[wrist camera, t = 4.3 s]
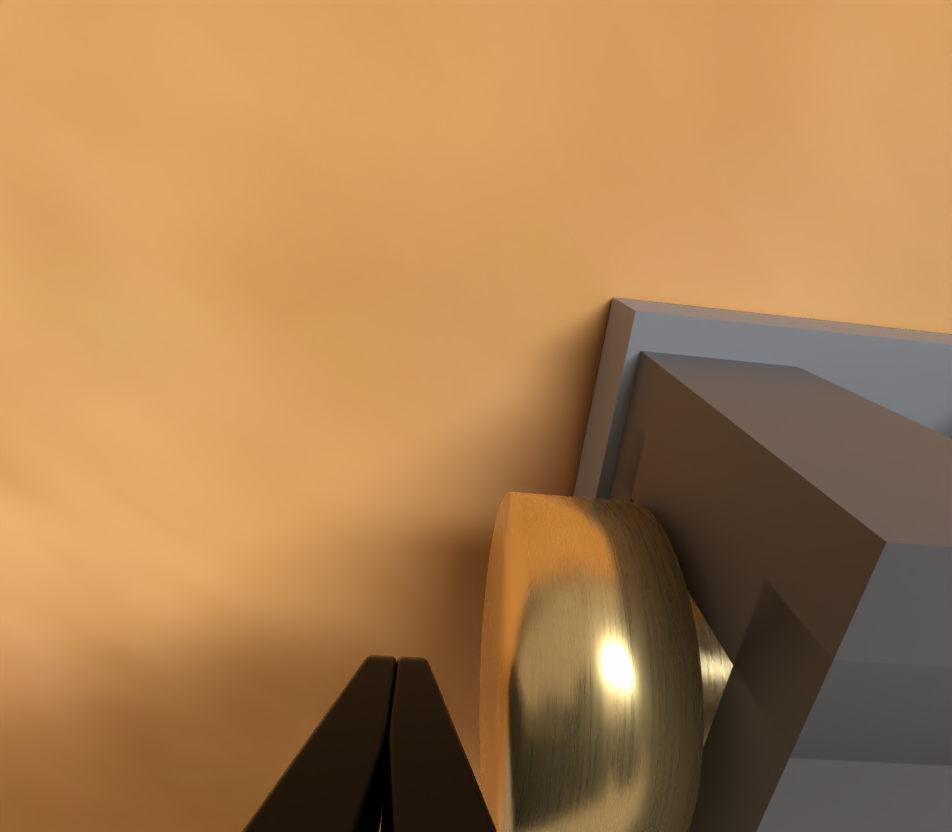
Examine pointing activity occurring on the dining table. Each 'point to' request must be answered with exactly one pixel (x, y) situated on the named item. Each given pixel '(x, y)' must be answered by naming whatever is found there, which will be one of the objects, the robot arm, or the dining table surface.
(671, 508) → the bearing bracket
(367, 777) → the robot arm
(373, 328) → the dining table surface
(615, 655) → the shaft
